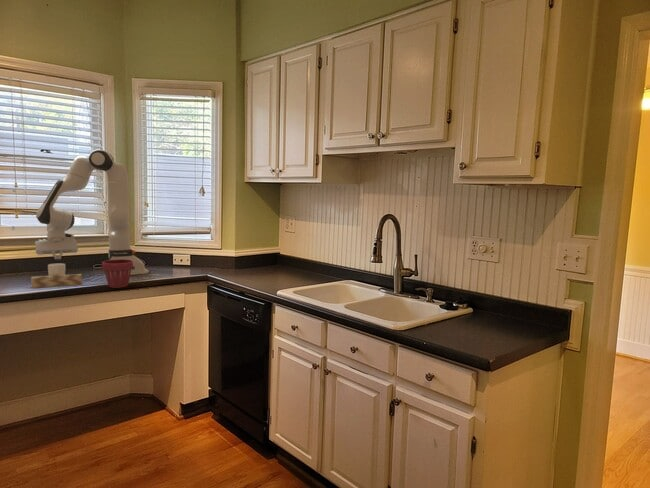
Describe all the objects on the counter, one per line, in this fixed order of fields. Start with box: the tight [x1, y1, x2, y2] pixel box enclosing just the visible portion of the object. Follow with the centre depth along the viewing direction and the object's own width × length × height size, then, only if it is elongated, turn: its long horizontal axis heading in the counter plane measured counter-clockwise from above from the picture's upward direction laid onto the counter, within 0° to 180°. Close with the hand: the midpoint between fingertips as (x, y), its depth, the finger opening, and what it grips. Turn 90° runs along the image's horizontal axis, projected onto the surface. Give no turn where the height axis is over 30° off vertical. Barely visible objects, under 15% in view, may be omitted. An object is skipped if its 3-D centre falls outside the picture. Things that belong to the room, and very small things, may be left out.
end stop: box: [30, 273, 83, 289], centre depth 235 cm, size 22×5×5 cm, turn 120°
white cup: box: [47, 263, 66, 276], centre depth 239 cm, size 8×8×10 cm
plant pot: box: [101, 259, 133, 289], centre depth 236 cm, size 14×14×13 cm
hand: (57, 258), depth 253 cm, fingers closed
